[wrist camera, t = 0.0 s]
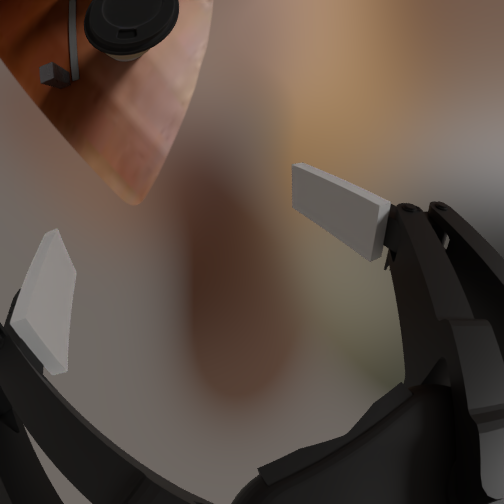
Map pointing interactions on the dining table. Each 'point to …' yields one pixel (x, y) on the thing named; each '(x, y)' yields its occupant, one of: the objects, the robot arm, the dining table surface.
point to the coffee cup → (129, 25)
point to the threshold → (73, 40)
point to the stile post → (54, 76)
